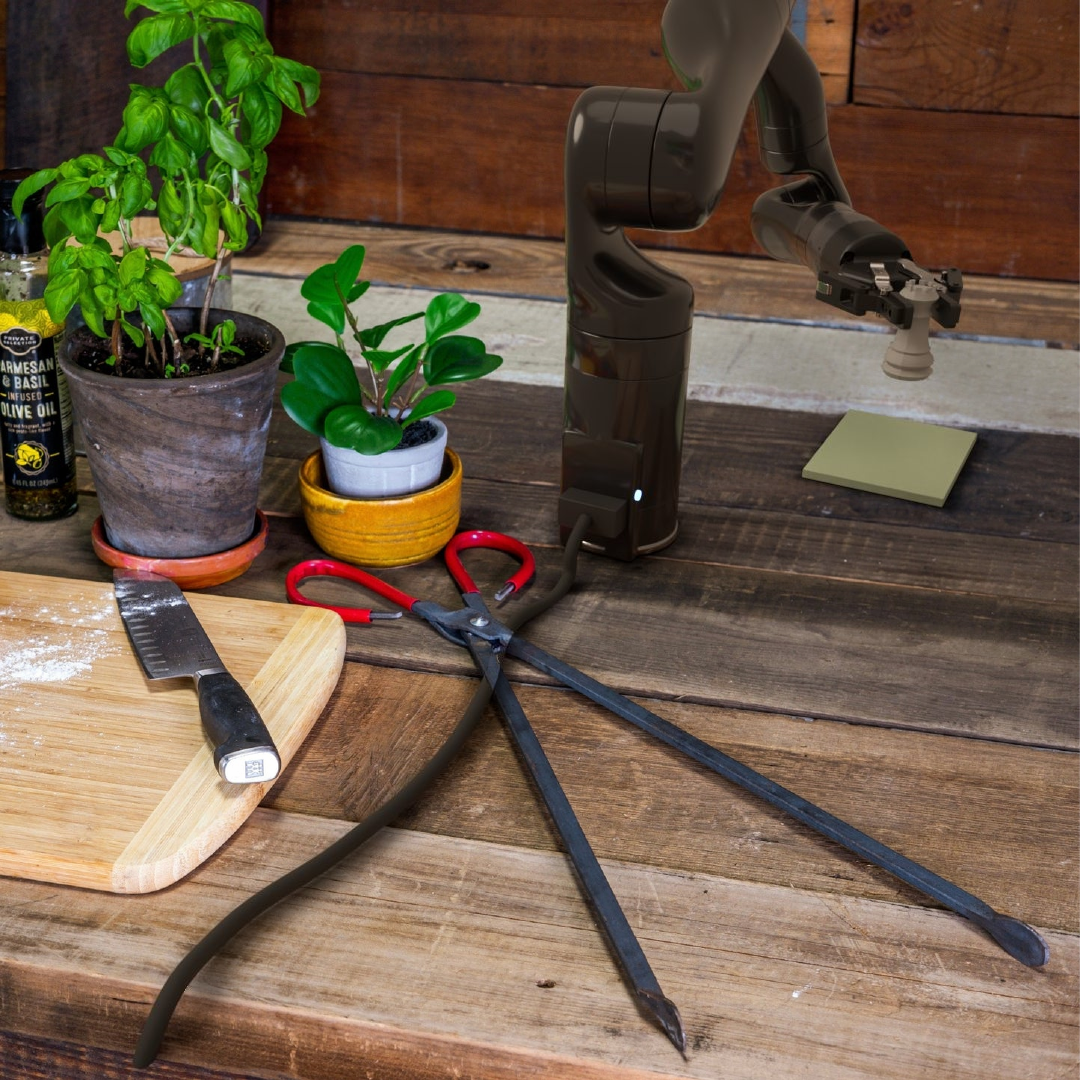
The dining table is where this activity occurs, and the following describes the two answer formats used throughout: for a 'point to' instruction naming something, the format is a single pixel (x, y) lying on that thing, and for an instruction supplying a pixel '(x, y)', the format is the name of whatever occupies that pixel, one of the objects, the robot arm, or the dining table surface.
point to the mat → (892, 457)
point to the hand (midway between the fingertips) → (931, 317)
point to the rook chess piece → (913, 337)
